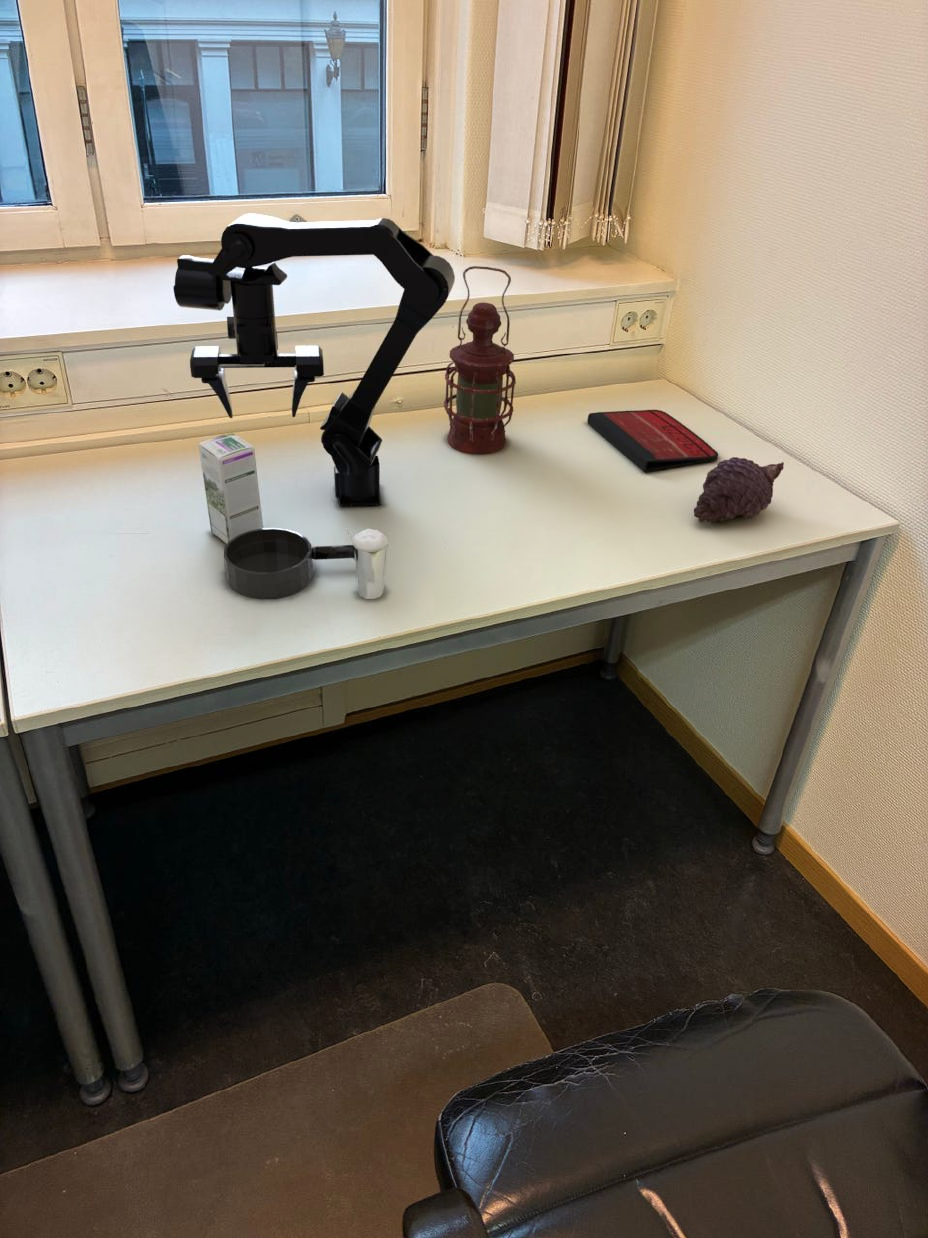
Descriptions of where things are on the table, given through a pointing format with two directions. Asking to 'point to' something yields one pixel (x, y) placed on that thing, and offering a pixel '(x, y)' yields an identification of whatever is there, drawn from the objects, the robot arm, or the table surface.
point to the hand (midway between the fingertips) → (262, 416)
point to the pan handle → (332, 552)
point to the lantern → (480, 381)
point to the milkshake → (370, 562)
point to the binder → (652, 438)
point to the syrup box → (230, 486)
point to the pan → (268, 563)
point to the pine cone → (736, 490)
